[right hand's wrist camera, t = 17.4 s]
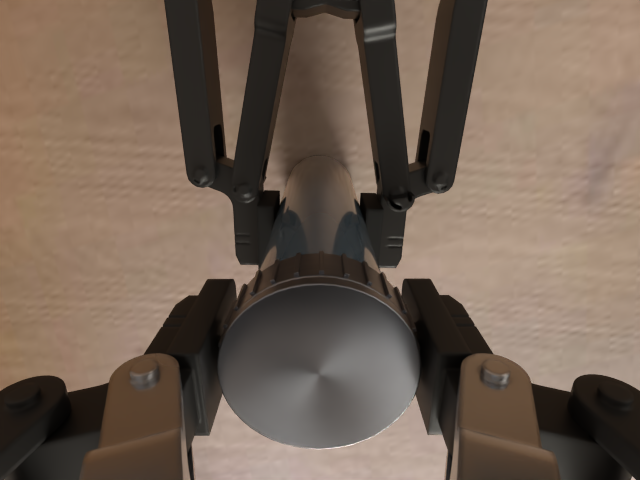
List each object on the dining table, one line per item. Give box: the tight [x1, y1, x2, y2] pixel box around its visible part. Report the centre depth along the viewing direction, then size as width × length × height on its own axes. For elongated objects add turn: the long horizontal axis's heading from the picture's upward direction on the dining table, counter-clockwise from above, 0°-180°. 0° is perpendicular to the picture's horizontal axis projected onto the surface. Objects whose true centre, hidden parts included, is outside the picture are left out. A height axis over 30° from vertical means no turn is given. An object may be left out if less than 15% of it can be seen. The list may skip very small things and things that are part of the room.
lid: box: [217, 251, 421, 449], centre depth 10 cm, size 5×5×2 cm
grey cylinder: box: [259, 155, 381, 274], centre depth 17 cm, size 4×4×17 cm
